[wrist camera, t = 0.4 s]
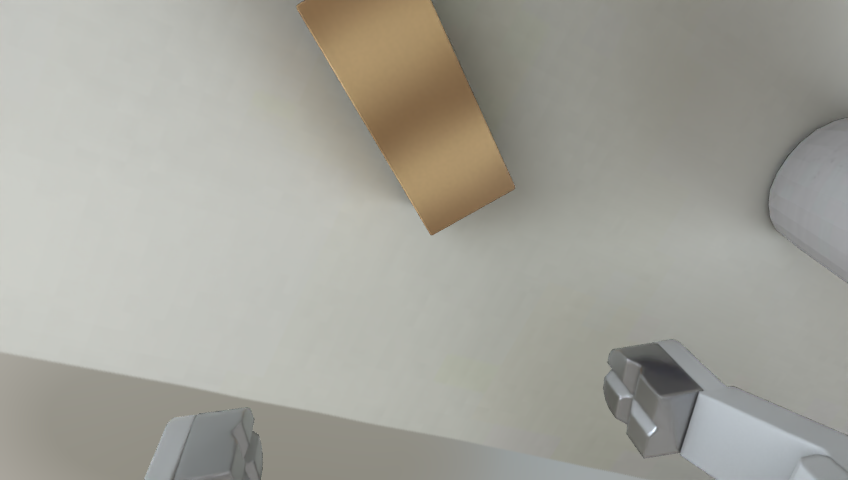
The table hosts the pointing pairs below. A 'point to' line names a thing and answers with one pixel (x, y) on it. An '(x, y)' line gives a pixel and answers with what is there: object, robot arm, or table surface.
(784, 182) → the potted plant
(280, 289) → the table surface
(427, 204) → the eraser
